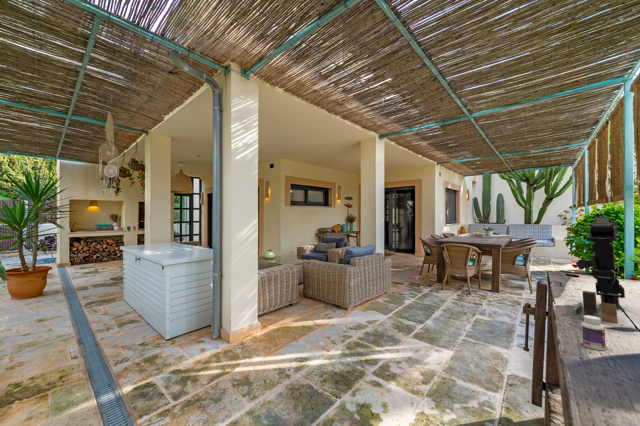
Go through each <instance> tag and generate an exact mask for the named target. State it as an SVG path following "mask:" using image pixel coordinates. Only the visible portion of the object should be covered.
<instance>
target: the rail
mask: <svg viewBox="0 0 640 426" xmlns="http://www.w3.org/2000/svg"><path fill="white" fill-rule="evenodd" d="M571 310H572V311H571V313H572V315H575V316H580V317H581V316H582V317H584V316H585V315H589V316H595V317H599V318H600V317H601V316H602V312H601V305H598V306H597V309H596V311H592V310H586V309H584V306H583V303H582V302H578V303H577V304H576V305H575V306H574V307H573V308H571Z"/></svg>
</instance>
